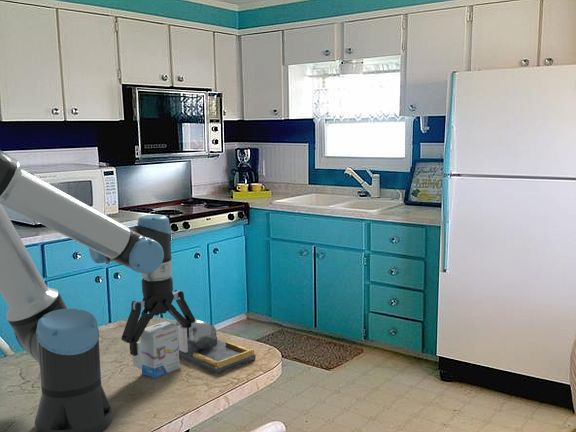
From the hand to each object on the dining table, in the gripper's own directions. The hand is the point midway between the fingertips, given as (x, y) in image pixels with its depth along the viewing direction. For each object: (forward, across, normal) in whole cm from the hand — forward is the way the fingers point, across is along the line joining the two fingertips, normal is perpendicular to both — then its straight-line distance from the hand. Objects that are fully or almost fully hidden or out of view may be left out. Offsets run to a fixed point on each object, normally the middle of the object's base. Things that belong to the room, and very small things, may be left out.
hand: (161, 358), depth 150 cm
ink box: (+4, 0, 0) cm, 4 cm away
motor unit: (+3, +15, 0) cm, 15 cm away
